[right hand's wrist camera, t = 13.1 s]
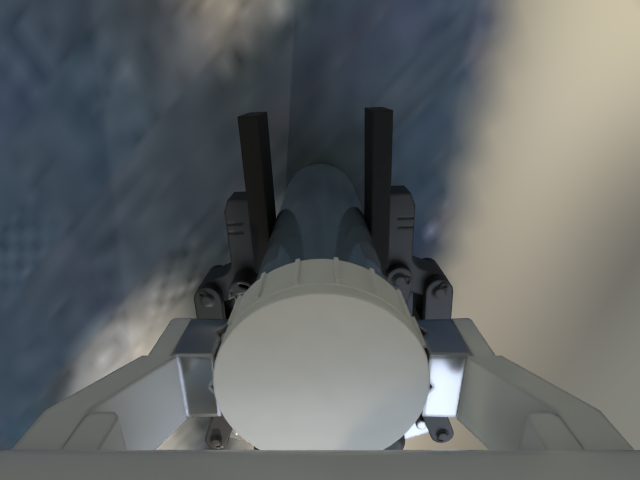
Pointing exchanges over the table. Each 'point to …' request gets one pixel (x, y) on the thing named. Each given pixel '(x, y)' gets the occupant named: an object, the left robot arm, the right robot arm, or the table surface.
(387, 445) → the lid
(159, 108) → the table surface
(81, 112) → the table surface
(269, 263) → the grey cylinder
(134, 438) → the right robot arm
